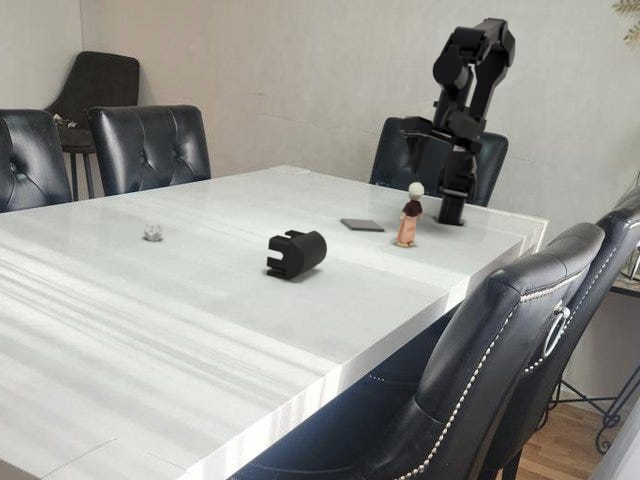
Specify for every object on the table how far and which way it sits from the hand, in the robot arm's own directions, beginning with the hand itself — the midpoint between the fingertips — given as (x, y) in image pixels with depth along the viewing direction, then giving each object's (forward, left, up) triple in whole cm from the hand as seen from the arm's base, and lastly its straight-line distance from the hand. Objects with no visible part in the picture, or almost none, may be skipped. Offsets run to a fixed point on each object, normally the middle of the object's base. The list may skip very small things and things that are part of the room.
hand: (429, 179), depth 139 cm
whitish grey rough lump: (+26, -55, -13) cm, 62 cm away
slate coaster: (-6, -12, -12) cm, 18 cm away
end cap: (+37, -28, -13) cm, 48 cm away
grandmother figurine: (+7, -4, -13) cm, 15 cm away
